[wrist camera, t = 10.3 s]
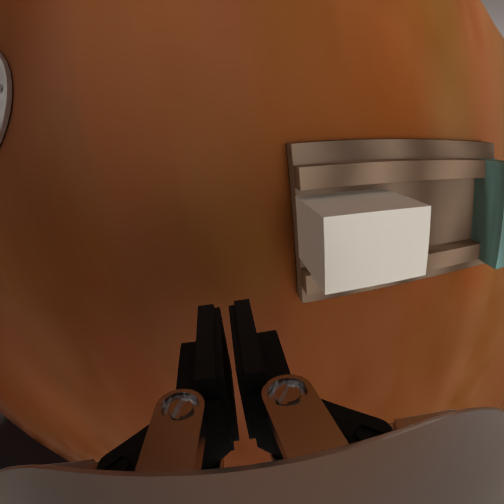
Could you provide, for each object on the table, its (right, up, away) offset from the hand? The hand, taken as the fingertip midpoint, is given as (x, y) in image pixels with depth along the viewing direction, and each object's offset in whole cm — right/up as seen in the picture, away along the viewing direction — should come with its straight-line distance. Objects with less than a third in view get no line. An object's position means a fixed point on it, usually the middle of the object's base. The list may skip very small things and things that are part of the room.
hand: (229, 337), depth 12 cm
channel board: (+14, +7, +13) cm, 20 cm away
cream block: (+7, +5, +11) cm, 15 cm away
